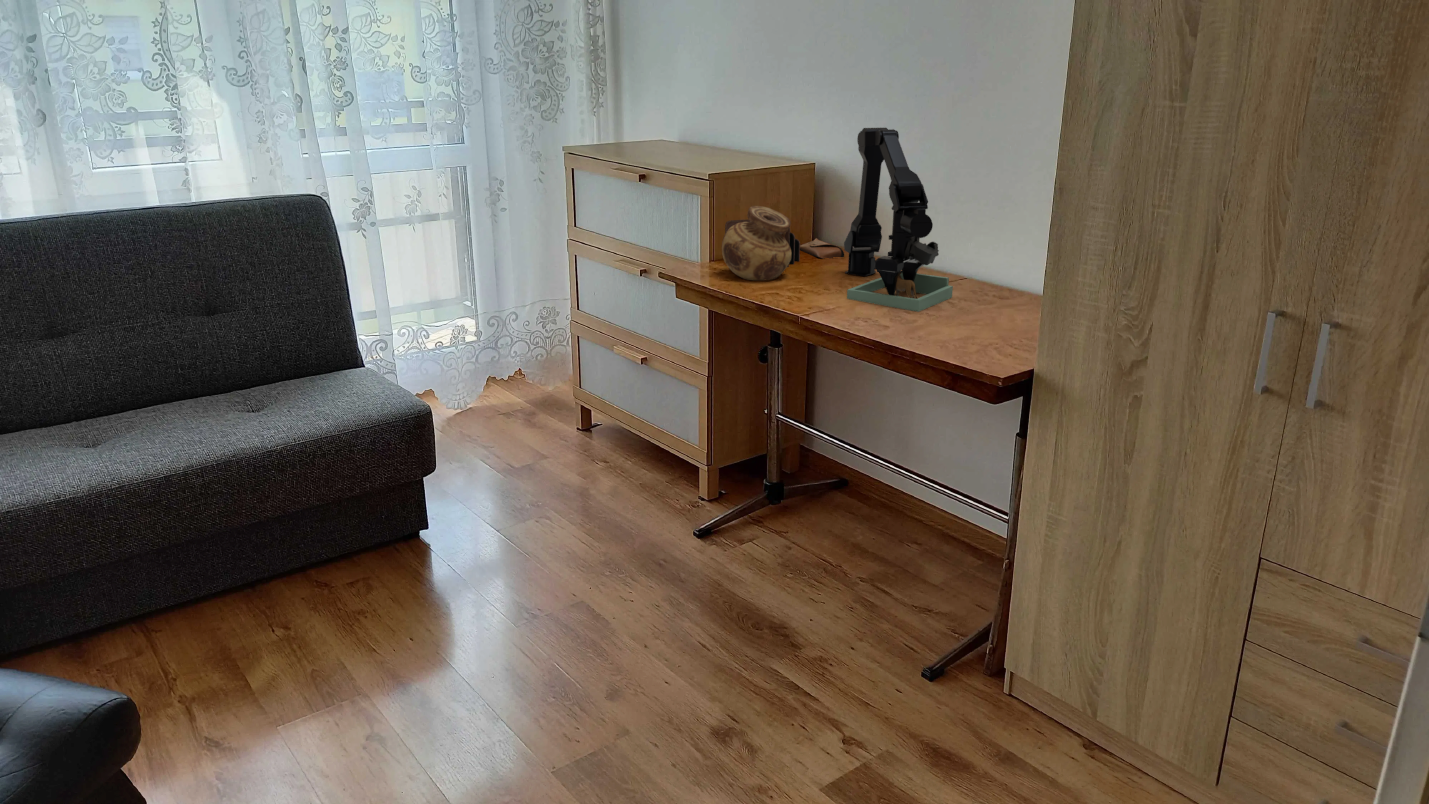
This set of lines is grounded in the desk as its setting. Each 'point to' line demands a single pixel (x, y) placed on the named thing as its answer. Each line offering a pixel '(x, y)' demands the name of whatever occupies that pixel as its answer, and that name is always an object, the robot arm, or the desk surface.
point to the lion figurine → (905, 287)
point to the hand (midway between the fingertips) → (900, 293)
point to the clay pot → (758, 245)
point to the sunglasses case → (822, 249)
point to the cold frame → (924, 284)
